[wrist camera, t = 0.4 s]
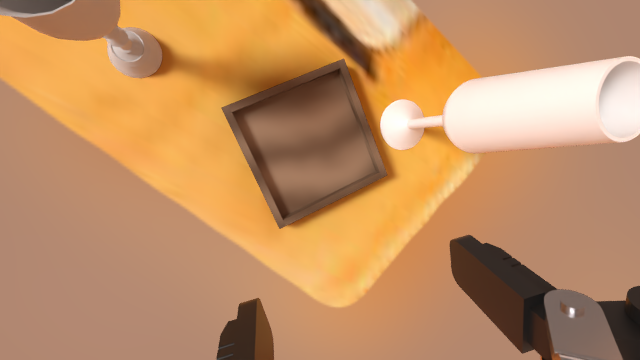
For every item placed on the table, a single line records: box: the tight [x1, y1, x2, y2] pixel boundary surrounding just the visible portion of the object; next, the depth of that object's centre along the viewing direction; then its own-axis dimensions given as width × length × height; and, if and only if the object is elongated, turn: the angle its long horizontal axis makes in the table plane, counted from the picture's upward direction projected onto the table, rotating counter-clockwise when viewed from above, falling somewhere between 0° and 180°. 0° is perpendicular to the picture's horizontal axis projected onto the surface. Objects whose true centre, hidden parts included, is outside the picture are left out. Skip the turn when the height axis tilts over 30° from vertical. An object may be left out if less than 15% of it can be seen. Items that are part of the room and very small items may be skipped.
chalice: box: [0, 0, 162, 78], centre depth 22 cm, size 7×7×18 cm
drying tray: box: [222, 59, 387, 229], centre depth 36 cm, size 15×15×2 cm
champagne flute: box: [380, 56, 640, 153], centre depth 28 cm, size 7×7×24 cm
